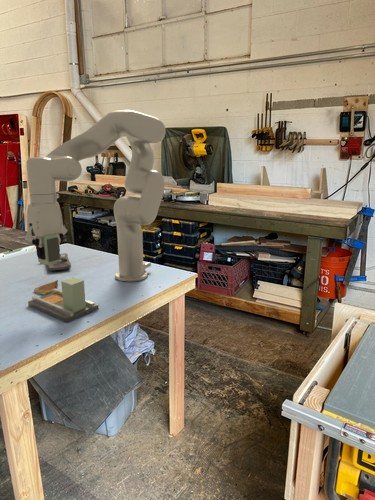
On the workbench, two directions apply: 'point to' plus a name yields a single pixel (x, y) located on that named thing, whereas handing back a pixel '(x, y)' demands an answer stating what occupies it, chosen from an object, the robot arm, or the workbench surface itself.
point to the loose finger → (51, 249)
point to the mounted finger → (73, 294)
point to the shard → (47, 288)
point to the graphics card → (60, 263)
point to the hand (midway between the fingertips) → (48, 256)
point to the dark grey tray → (59, 306)
